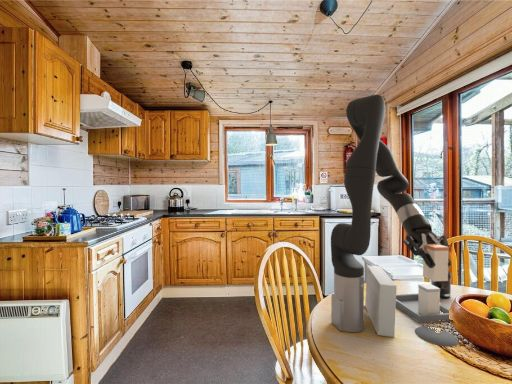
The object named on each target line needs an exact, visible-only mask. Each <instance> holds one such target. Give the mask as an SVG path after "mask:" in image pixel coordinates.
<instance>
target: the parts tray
mask: <svg viewBox="0 0 512 384" xmlns="http://www.w3.org/2000/svg"><path fill="white" fill-rule="evenodd" d="M396 307H397V308H398V309H400V311H402V312H404V313H405V314H407V315H408V316H410V318H412V319H414V320H415V321H416V322H418V323H419V324H423V323H432V322H431V321H438V322H440V321H439V320H450V319H449V310H451V309H449V308H447V307H446V306H444V305H442V304H440V311H441V312H443V313H444V314H429V315H421V314H420V313H418V293H406V294H405V293H403V294H396Z"/></svg>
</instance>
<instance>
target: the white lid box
mask: <svg viewBox="0 0 512 384" xmlns="http://www.w3.org/2000/svg"><path fill="white" fill-rule="evenodd" d="M417 286H418V287H417V288H418V290H417V292H418V293H417V294H418V313H420V314H421V315H429V314H440V305H441V303H440V302H441V298H440V288H438V287H436V286H434V285H431V283H419V284H418V285H417Z"/></svg>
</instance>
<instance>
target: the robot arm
mask: <svg viewBox="0 0 512 384" xmlns="http://www.w3.org/2000/svg"><path fill="white" fill-rule="evenodd" d="M345 112H346V113H345V115H346V118H347V121H348V123H349V125H350V127H351V128H352V130H353V131H354V133H355V136H357V137H358V139H359V142H358V144H357V146H356V147H355V148H354V150H353V151H352V153H351V154H350V156H349V157H348V159H347V161H346V164H345V171H344V177H343V178H344V180H343V185H344V188H345V192H346V194H347V196H348V199H349V201H350V204H351V211H352V212H351V213H352V214H351V223H344V222H341V223H338V224H336V225H335V226H334V227H333V229H332V231H331V234H330V256H331V259H330V260H331V263H332V266H333V293H332V294H331V295H330V296H331V297H330V298H331V303H330V304H331V305H330V306H331V311H330V313H331V314H330V315H331V318H330V319H331V323H332V325H334V327H335V328H336V329H338V330H339V332H347V333H359V332H361V331H363V330H364V328H365V327H364V321H365V318H364V317H365V315H364V311H365V309H364V308H365V305H364V304H365V303H364V301H365V297H364V295H365V287H364V286H365V267H364V265H363V264H362V263H360V262H359V260H357V258H356V257H355V256H362V255H364V254H366V253H367V251H368V250H369V246H370V242H371V232H372V231H371V228H372V227H371V226H372V222H371V221H372V204H373V203H372V202H373V192H374V185H375V178H376V174H377V175H378V177H382V179H381V180H379V181H378V182H377V185H376V188H377V191H378V193H379V195H381V197H383V198H384V199H385V200H386V201H387V202H388V203H390V205H391V206H392V208H393V210H394V212H395V213H396V214H397V215H396V216H397V218H398V220H399V222H400V224H401V226H402V228H403V230H404V231H405V233H406V235H407V236H405V238H404V239H403V240H402V242H403V243H404V245H405V246H406V247H407V248H408V249H409V251H410V252H411V253H412V254H413V255H414V256H416V257H417V256H420V257H421V258H422V260H424V261H425V263H426V265H427V266H428V267H429V268H433V267H434V266H435V263H434V261H433V259H432V258H431V256H430V254H428V250H427V249H426V245H427V244H437V245H443V246H446V247H449V252H450V251H451V247H450V246H449V242H448V239H447V236H446V235H442V234H441V236H440V235H437V234H436V233H435V232H433V228H432V227H433V226H432V225H431V223H430V222H429V220H428V219H427V217H426V216H425V213H423V211H422V209H421V208H420V207H419V206H418V205H417V203H416V201H415V200H414V198H413V197H412V195H411V194H409V193H407V192H406V191H407V190H408V189H409V187H410V183H409V180H408V179H407V178H406V177H405V175H404V174H403V173H402V172H401V171H400V169H399V168H398V165H397V164H396V161H395V158H394V155H393V153H392V151H391V149H390V148H389V147H388V145H386V144H385V143H384V142H383V140H381V135H382V131H383V126H384V121H385V117H386V102H385V99H384V98H383V96H382V95H380V94H371V95H368V96H363V97H360V98H355V99H352V100H351V101H349V103H348V104H347V106H346V111H345ZM385 177H387V178H385ZM383 178H384V179H383ZM451 265H452V261H451V260H450V258H449V257H448V268H449V267H450V266H451Z"/></svg>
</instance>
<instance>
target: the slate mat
mask: <svg viewBox="0 0 512 384" xmlns="http://www.w3.org/2000/svg"><path fill="white" fill-rule="evenodd" d="M428 326H429V325H425V326H424V325H421V326H418V327H416V328H415V329H414V333H415V335H416V336H417V337H418V338H419V339H421V340H422V341H424V342H427V343H429V344H431V345H436V346H438V347H439V346H441V347H447V348H448V347H455V346H457V345H458V344H459V339H458V337H457V336H456V335H454V334H453V333H451V332H450V333H451V334H450V333H449V331H448V332H445V331H446V330H445V331H444V332H443V331H442V332H441V331H440V333H436V332H437V331H436V330H437V329H436V330H435V328H434V329H433V328H432V329H431V328H430V327H431V326H429V328H428ZM429 329H430V330H429ZM435 331H436V332H435Z"/></svg>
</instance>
